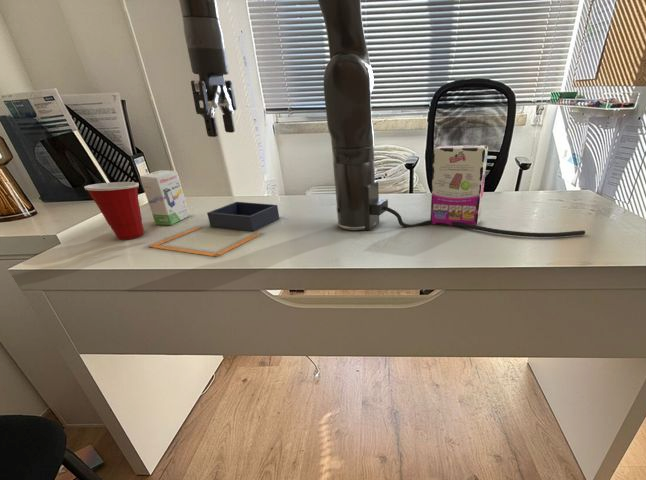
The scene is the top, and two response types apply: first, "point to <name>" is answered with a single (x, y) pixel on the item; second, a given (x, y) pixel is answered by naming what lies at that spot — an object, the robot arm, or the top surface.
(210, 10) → the robot arm
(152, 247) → the tape marks
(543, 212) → the top surface
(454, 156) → the candy bar box
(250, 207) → the dark blue tray
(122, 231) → the plastic cup
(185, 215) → the ink box
